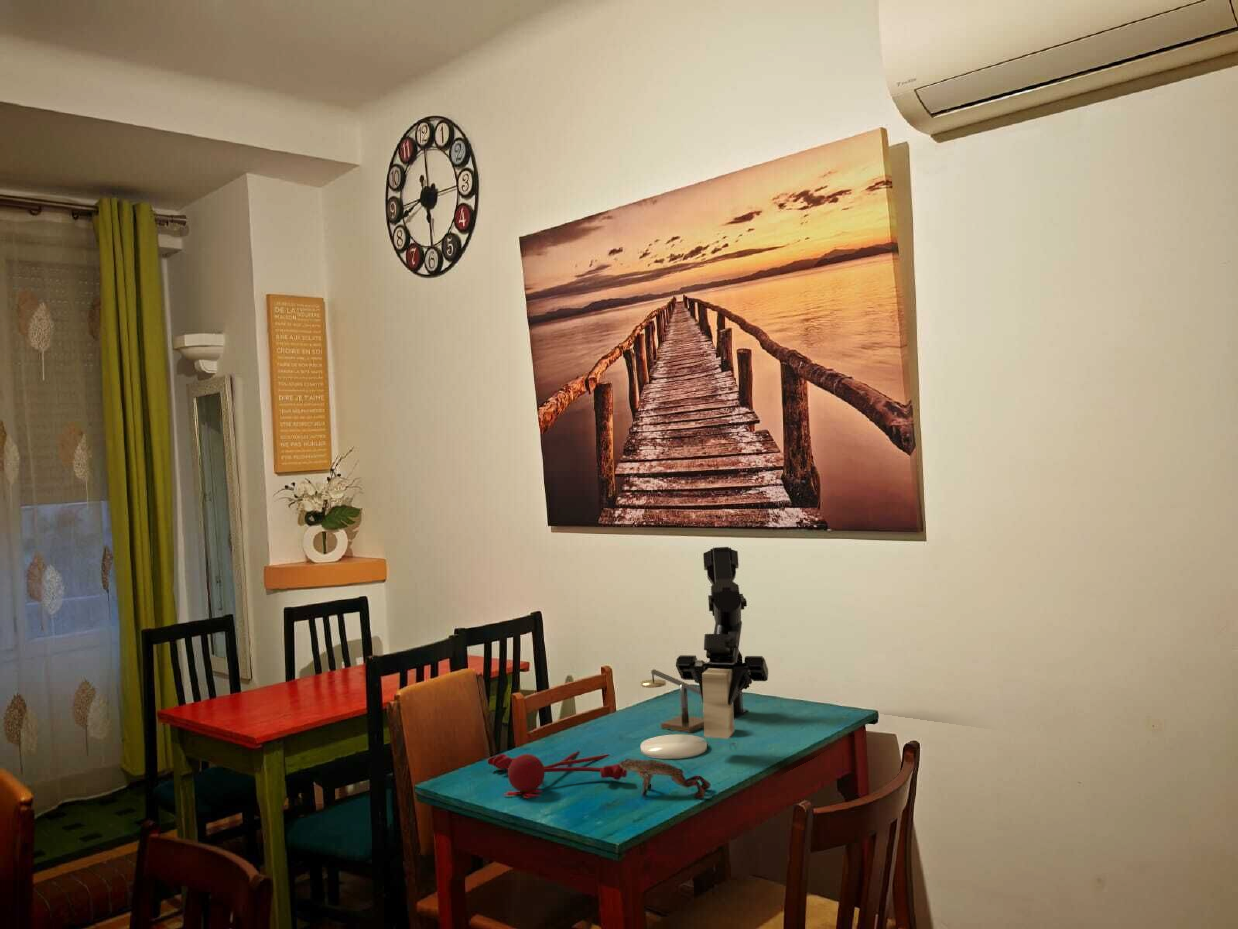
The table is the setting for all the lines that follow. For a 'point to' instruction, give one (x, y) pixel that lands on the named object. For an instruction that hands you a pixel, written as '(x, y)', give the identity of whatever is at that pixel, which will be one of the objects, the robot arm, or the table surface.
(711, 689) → the birch block
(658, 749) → the saucer
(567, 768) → the toy
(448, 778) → the table surface
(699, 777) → the toy
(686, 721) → the balance
